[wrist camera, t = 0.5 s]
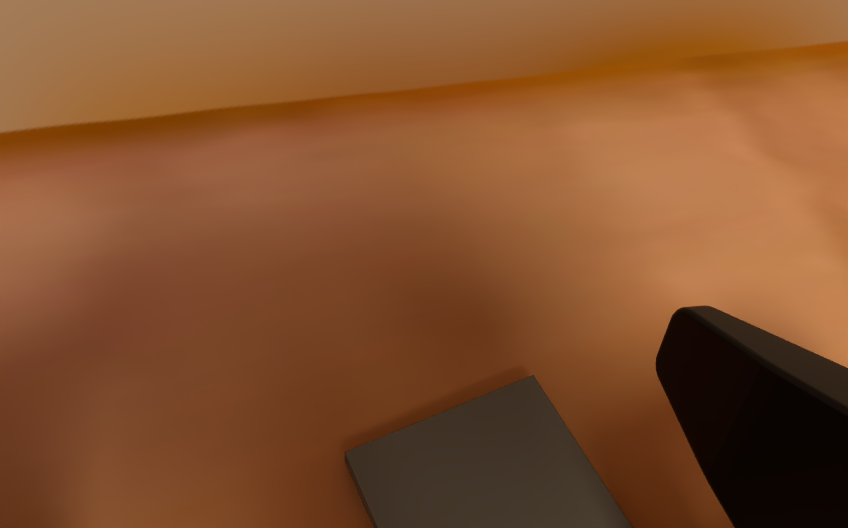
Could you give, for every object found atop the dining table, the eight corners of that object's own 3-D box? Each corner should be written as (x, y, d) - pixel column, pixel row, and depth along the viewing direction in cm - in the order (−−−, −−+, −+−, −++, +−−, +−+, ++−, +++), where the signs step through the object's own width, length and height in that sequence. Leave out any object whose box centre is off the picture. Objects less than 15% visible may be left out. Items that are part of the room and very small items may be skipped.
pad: (651, 572, 21) (657, 566, 21) (443, 687, 19) (445, 683, 18) (529, 383, 25) (533, 374, 25) (345, 460, 23) (344, 452, 22)
